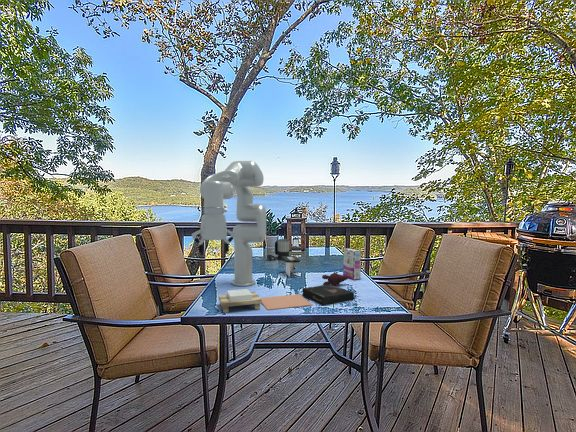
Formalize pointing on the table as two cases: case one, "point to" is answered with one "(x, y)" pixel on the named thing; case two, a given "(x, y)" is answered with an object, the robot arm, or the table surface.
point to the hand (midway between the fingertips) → (213, 254)
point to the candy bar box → (352, 263)
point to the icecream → (334, 279)
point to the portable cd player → (327, 294)
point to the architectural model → (290, 263)
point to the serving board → (239, 302)
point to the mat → (284, 302)
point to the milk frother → (280, 249)
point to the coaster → (239, 295)
